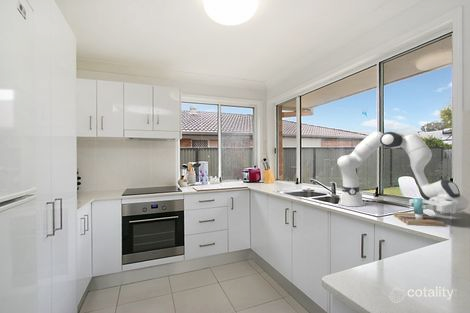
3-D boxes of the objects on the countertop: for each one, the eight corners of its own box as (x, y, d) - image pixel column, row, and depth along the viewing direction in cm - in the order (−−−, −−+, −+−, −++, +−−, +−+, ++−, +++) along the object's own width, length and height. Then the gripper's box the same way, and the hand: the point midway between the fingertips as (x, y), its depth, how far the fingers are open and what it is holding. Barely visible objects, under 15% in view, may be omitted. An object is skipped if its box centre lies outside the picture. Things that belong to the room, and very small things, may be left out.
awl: (413, 220, 126) (411, 197, 126) (421, 221, 125) (420, 197, 125) (416, 222, 122) (415, 199, 122) (425, 223, 121) (423, 199, 121)
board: (393, 215, 138) (393, 211, 138) (424, 216, 133) (424, 213, 133) (407, 224, 119) (407, 220, 119) (444, 226, 114) (444, 222, 114)
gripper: (420, 195, 136) (400, 197, 134) (458, 202, 115) (435, 203, 113) (421, 206, 135) (400, 207, 134) (459, 214, 115) (435, 216, 113)
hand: (417, 205), depth 123 cm, fingers open, 6 cm apart
